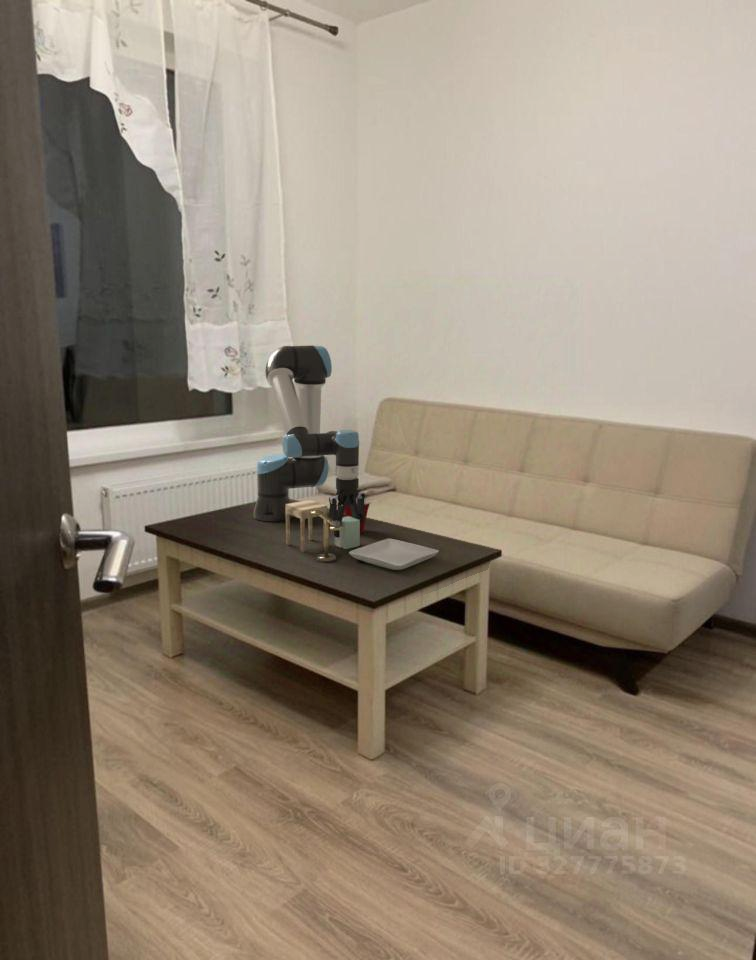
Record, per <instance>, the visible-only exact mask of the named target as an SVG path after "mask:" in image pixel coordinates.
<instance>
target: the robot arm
mask: <svg viewBox="0 0 756 960" xmlns="http://www.w3.org/2000/svg"><path fill="white" fill-rule="evenodd" d="M332 370H333V369H332V360H331V356H330V353H329V351H328V350H327V348H326V347H324V346H322V345H314V344H312V345H311V344H310V345H283V346H281V347H278V348H277V349H275V350H274V351H272V353H271V354H270V355H269V357H268V359H267V362H266V364H265V371H264V372H265V378H266V381H267V383H268V385H269V386H270V387H271V388H272V391H273V395H274V399H275V401H276V406H277V408H278V411H279V412H278V413H279V414H280V418H281V422H282V426H283V428H284V429H283V430H284V432H285V435H284V436H283V437H282V441H281V442H282V443H281V444H282V451H283V453H281V454H280V453H279V454H271V455H266V456H264V457H261V458H260V459H258V461H257V465H256V466H257V467H256V478H257V479H256V480H257V481H256V482H257V499H256V502H255V505H254V508H253V518H254V519H255V520H258V521H262V522H282V521H286V507H285V504H289V503H292V502H291V499H290V496H289V495H290V494H289V493H290V492H289V491H290V489H301V488H315V487H319V486H322V485H323V484H325V482H326V481H327V478H328V474H329V462H328V458H327V457H326V456H335V476H336V478H335V489H336V493H335V495H334V496H333V497H332V496H330V497H328V502H329V513H328V514H329V515H328V517H329V518H330V519H331V520H333V521H336V520H338V521H340V526H341V522H342V518H343V517H344V510H345V509H346V506H347V505H349V506H350V509H351V513H352V517H353V518H355V519H358V520H360V525H361V524H362V522H364V521H365V506H364V499H366V493H365V492H362V491H359V486H360V485H359V482H360V479H359V478H358V477H359V475H360V473H359V468H360V467H359V466H360V465H359V463H360V459H359V458H360V456H359V455H360V454H359V453H360V437H359V433H358V431H356V430H352V429H340V430H338V431H336V430H329V431H327V432H323V433H322V432H321V413H322V412H321V409H322V406H321V405H322V387H324V386H325V385H326V383H327V382H326V380H327V378H329V377H331V374H332ZM295 385H296V386H297V391H296V388H295ZM356 498H357V502H356ZM357 508H358V509H357ZM293 517H294V516H292V515H290V519H292V518H293ZM330 526H332V525H331V524H329V523H328V527H330ZM333 536H334V538H335V537H336V545H335V546H336V547H338V548H341V547H342V530H339V531H334V530H333Z"/></svg>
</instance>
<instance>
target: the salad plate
mask: <svg viewBox="0 0 756 960" xmlns="http://www.w3.org/2000/svg"><path fill="white" fill-rule="evenodd" d="M439 552H440V550H438V549H436V548H435V549H434V548H432V547H427V546H424V545H420V544H416V543H413V542H412V543H411V542H407V541H403V540H399V539H393V538H386V539H382V540H379V541H376V542H373V543H370V544H367V545H364V546H362V547H359V548H356V549H353V550H350V551H349V552H348V553H349V555H350V556H351V557H352V558H354V559H356V560H359V561H362V562H364V563H367V564H371V565H374V566H378V567H382V568H385V569H388V570H392V571H393V570H394V571H401V570H405V569H408V568H410V567H413V566H415V565H417V564H419V563H422V562H424V561H428V560H430V559H432V558H434V557H435V556H437V555H438V553H439Z"/></svg>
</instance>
